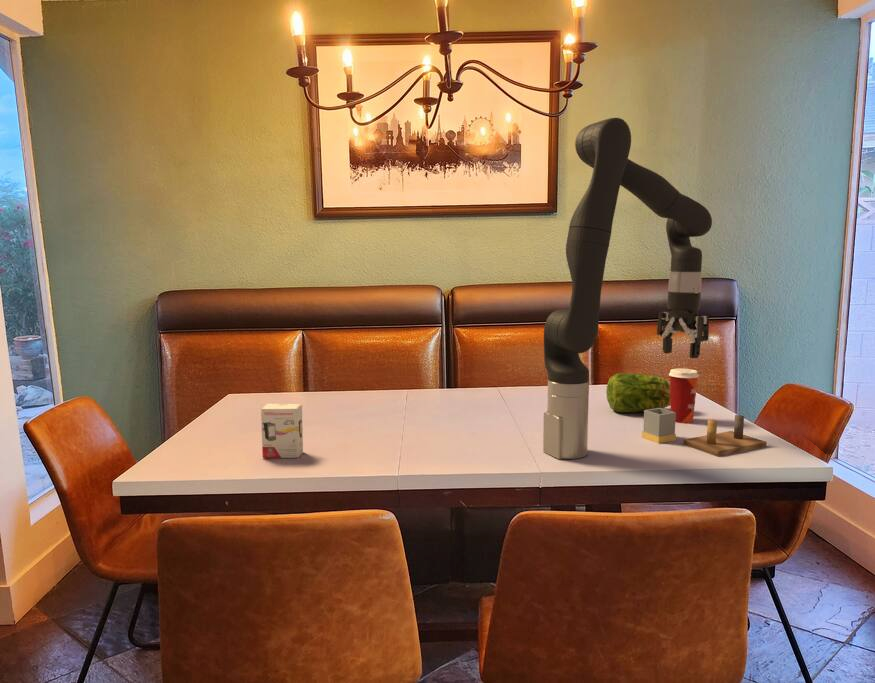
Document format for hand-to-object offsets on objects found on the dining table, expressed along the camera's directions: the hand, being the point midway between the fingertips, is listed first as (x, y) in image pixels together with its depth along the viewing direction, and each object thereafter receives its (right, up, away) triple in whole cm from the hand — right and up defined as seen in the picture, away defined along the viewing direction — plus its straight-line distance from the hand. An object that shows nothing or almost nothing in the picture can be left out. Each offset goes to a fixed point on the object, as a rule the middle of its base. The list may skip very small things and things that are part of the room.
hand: (680, 355), depth 151 cm
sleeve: (-5, -21, 0) cm, 21 cm away
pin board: (+8, -21, -6) cm, 24 cm away
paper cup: (+7, -19, +16) cm, 26 cm away
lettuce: (-1, -17, +26) cm, 31 cm away
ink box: (-97, -23, -9) cm, 100 cm away
